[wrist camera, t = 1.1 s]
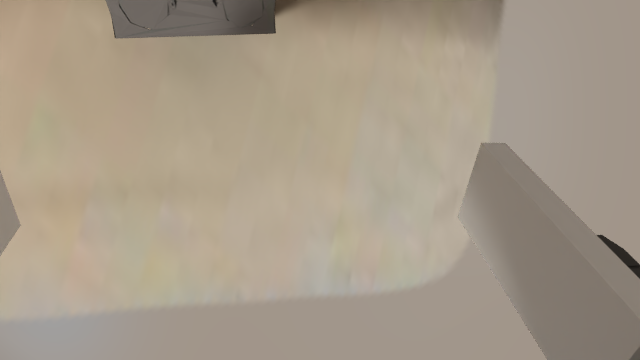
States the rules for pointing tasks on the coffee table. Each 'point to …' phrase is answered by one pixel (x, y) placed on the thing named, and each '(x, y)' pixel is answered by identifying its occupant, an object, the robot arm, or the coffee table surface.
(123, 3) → the electrical switch
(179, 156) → the coffee table surface
